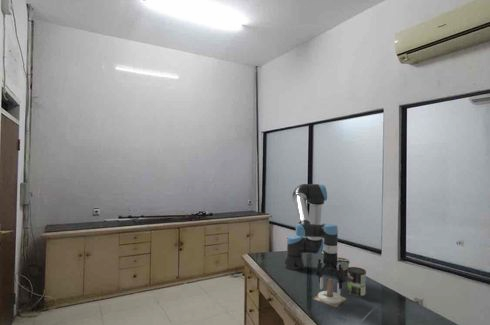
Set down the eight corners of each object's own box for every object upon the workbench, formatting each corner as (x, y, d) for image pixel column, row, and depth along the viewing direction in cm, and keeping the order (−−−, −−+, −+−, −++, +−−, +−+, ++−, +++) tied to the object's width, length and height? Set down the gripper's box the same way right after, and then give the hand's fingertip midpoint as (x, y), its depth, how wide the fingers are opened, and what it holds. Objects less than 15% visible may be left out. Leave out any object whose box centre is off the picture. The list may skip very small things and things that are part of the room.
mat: (312, 299, 160) (312, 298, 160) (324, 292, 170) (324, 291, 170) (336, 308, 150) (336, 306, 150) (346, 299, 161) (346, 298, 161)
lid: (314, 298, 160) (314, 279, 160) (324, 291, 169) (324, 273, 170) (335, 306, 151) (336, 286, 151) (345, 298, 161) (345, 279, 161)
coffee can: (352, 297, 164) (352, 273, 164) (344, 290, 174) (344, 266, 174) (369, 297, 164) (369, 272, 165) (360, 289, 175) (360, 266, 175)
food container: (347, 271, 206) (347, 257, 207) (349, 274, 200) (349, 260, 200) (330, 270, 208) (330, 256, 208) (331, 273, 201) (332, 259, 202)
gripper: (309, 249, 166) (309, 287, 165) (347, 257, 151) (346, 299, 150) (315, 246, 171) (315, 283, 171) (352, 254, 156) (352, 295, 156)
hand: (330, 291), depth 160 cm, fingers open, 10 cm apart
